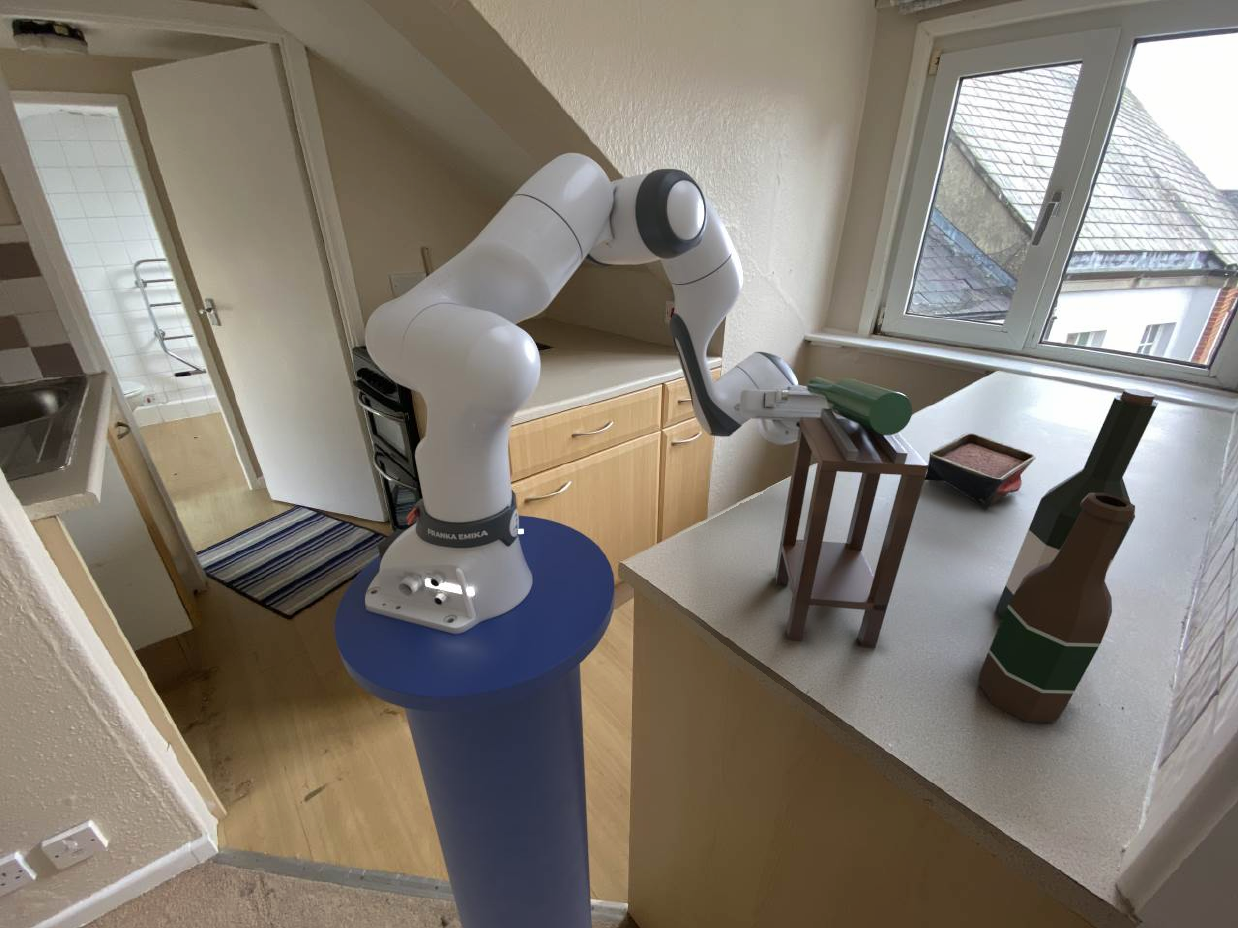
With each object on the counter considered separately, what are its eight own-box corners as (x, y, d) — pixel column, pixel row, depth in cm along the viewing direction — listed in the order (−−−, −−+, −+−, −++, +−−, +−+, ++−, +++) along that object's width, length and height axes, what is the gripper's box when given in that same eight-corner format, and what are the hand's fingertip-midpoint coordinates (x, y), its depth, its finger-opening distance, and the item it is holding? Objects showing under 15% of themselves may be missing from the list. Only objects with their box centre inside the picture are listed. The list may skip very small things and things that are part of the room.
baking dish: (1031, 503, 96) (1050, 450, 93) (985, 517, 86) (1004, 459, 83) (949, 477, 107) (964, 429, 104) (900, 487, 98) (915, 435, 95)
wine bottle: (1068, 611, 68) (1179, 387, 54) (1083, 656, 61) (1214, 412, 48) (991, 591, 71) (1078, 376, 58) (998, 632, 64) (1097, 398, 51)
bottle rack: (788, 639, 63) (824, 449, 52) (774, 576, 74) (802, 407, 63) (875, 647, 62) (932, 454, 51) (848, 582, 73) (890, 410, 62)
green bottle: (904, 438, 54) (918, 396, 52) (863, 431, 53) (877, 388, 52) (827, 404, 71) (836, 372, 70) (796, 399, 71) (804, 366, 70)
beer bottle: (1052, 679, 58) (1150, 488, 47) (1073, 738, 52) (1192, 533, 41) (970, 657, 61) (1045, 472, 50) (980, 710, 54) (1069, 511, 44)
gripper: (733, 391, 91) (744, 371, 77) (857, 397, 89) (891, 377, 75) (731, 427, 90) (741, 414, 77) (856, 434, 88) (889, 421, 74)
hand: (816, 396), depth 76 cm, fingers open, 8 cm apart
